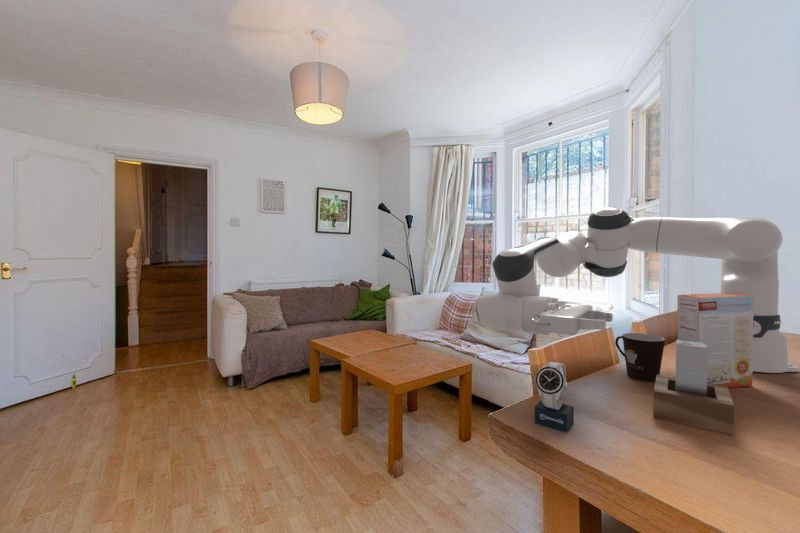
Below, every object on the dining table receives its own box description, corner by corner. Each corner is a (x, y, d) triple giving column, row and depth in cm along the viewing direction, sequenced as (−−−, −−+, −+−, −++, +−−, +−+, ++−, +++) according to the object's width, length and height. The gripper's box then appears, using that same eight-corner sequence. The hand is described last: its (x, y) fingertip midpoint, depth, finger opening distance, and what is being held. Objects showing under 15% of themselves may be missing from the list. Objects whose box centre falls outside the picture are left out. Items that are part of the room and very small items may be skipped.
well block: (656, 397, 75) (656, 374, 75) (726, 411, 69) (727, 386, 68) (653, 417, 67) (653, 390, 67) (733, 435, 60) (734, 405, 60)
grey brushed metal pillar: (675, 404, 71) (676, 339, 70) (705, 410, 68) (706, 343, 68) (674, 412, 67) (676, 344, 67) (706, 419, 65) (707, 348, 64)
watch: (530, 427, 64) (531, 366, 63) (545, 411, 70) (545, 355, 69) (564, 437, 60) (564, 372, 60) (576, 419, 66) (577, 361, 66)
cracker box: (726, 377, 87) (728, 292, 86) (753, 387, 81) (756, 294, 80) (674, 380, 85) (676, 293, 84) (698, 390, 79) (700, 296, 78)
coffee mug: (671, 384, 83) (672, 341, 82) (630, 382, 85) (631, 340, 84) (647, 368, 94) (648, 331, 94) (611, 366, 96) (612, 329, 96)
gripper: (526, 307, 75) (601, 313, 67) (553, 297, 92) (615, 300, 83) (527, 337, 76) (601, 346, 67) (553, 321, 92) (615, 327, 83)
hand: (609, 321), depth 75 cm, fingers open, 8 cm apart
